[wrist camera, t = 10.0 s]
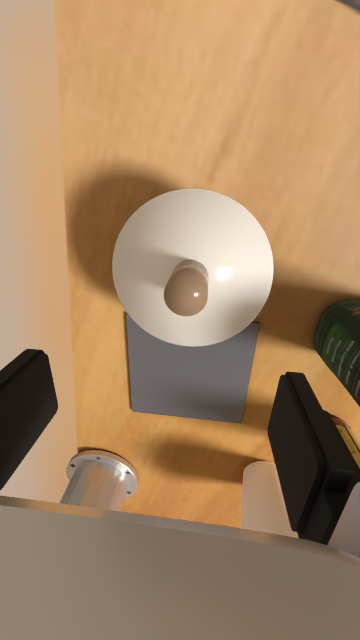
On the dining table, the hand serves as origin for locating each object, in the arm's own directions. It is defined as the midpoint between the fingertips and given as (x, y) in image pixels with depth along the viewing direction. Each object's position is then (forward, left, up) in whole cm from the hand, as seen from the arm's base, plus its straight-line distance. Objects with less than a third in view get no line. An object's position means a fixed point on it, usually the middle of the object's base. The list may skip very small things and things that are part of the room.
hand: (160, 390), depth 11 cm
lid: (0, 0, -15) cm, 15 cm away
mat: (-15, 0, -21) cm, 25 cm away
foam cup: (-34, -13, -21) cm, 42 cm away
